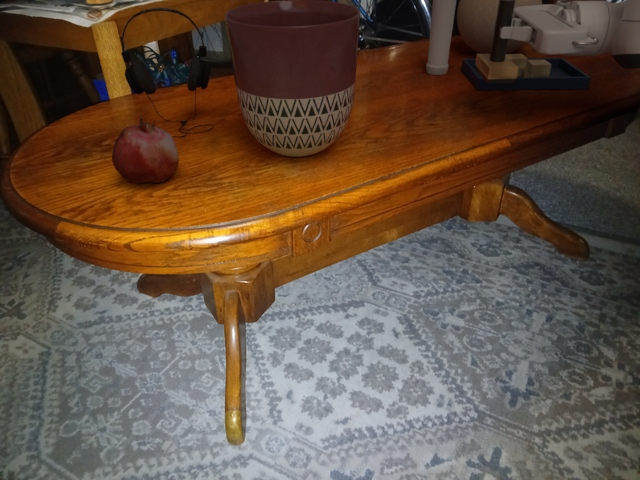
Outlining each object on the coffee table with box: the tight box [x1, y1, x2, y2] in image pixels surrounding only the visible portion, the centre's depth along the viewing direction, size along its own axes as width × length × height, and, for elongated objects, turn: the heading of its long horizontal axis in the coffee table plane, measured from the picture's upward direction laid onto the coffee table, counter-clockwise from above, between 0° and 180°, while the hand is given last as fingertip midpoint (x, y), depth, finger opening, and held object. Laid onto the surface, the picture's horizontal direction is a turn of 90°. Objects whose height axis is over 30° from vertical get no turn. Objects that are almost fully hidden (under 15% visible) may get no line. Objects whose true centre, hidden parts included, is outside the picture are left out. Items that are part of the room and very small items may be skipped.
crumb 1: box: [506, 53, 528, 77], centre depth 116 cm, size 4×4×4 cm
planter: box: [224, 0, 361, 158], centre depth 80 cm, size 20×20×21 cm
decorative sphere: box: [456, 0, 543, 54], centre depth 128 cm, size 20×20×20 cm
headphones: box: [119, 6, 215, 138], centre depth 90 cm, size 15×11×20 cm
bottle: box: [425, 0, 457, 76], centre depth 114 cm, size 5×5×25 cm
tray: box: [460, 57, 592, 92], centre depth 115 cm, size 24×16×2 cm, turn 90°
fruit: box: [111, 116, 180, 184], centre depth 75 cm, size 9×10×10 cm
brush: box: [475, 0, 519, 83], centre depth 90 cm, size 5×9×13 cm, turn 0°
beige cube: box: [523, 60, 551, 77], centre depth 112 cm, size 4×4×4 cm
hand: (497, 29), depth 89 cm, fingers closed on brush, 2 cm apart
